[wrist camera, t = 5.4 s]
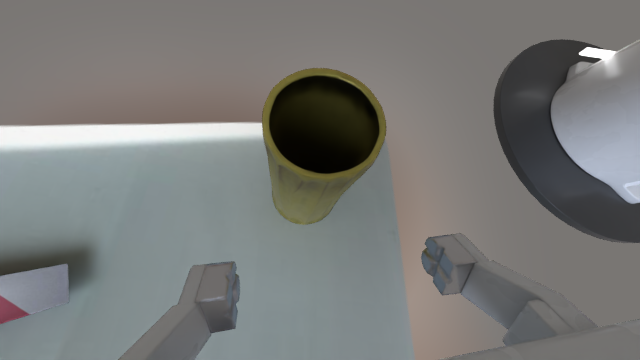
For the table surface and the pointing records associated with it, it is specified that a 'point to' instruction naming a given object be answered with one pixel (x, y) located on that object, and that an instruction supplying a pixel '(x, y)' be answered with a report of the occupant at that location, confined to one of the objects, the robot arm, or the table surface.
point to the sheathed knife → (33, 291)
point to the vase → (319, 140)
